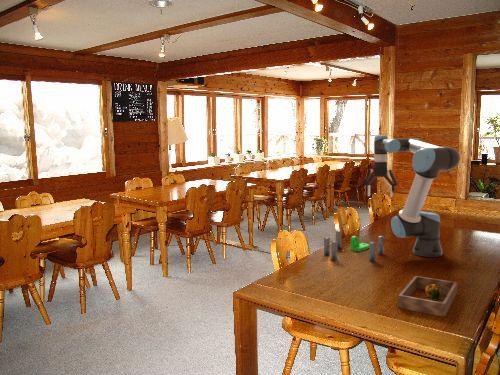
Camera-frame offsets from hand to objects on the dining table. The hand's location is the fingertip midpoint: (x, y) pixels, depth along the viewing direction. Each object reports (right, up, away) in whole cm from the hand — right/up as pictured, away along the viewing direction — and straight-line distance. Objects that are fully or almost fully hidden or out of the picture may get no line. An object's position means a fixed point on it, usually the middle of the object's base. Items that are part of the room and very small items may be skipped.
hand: (380, 196), depth 269 cm
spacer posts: (-22, -32, -22) cm, 45 cm away
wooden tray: (-6, -41, -87) cm, 96 cm away
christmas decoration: (-3, -41, -87) cm, 96 cm away
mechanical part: (-13, -31, -8) cm, 34 cm away
